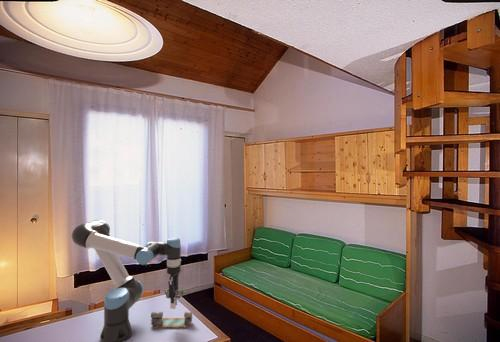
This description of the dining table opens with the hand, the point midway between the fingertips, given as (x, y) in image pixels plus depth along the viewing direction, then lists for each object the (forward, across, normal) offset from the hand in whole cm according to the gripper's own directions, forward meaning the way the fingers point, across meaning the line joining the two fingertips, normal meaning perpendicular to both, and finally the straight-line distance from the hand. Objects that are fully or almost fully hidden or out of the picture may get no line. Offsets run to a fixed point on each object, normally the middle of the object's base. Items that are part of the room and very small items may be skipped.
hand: (173, 306), depth 153 cm
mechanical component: (+1, 0, 0) cm, 1 cm away
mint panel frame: (+10, 0, 0) cm, 10 cm away
